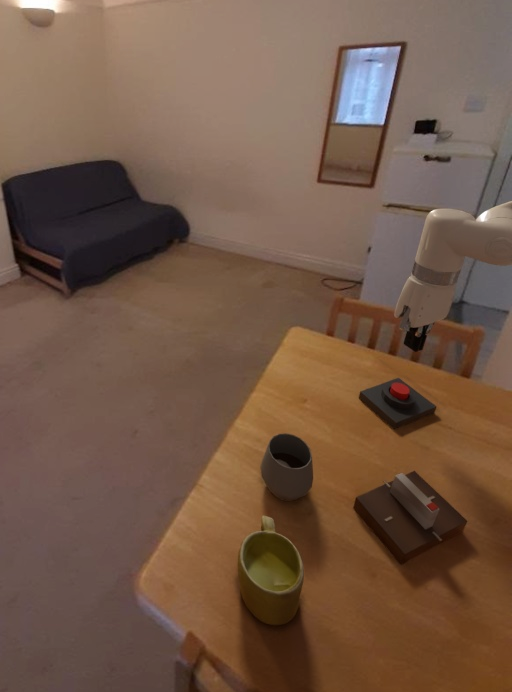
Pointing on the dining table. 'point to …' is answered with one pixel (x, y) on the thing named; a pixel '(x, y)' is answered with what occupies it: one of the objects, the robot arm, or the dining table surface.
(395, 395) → the timer button
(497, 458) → the dining table surface
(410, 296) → the robot arm
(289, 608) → the mug
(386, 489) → the switch base
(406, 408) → the black button base
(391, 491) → the dial knob
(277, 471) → the cup
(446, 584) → the dining table surface
